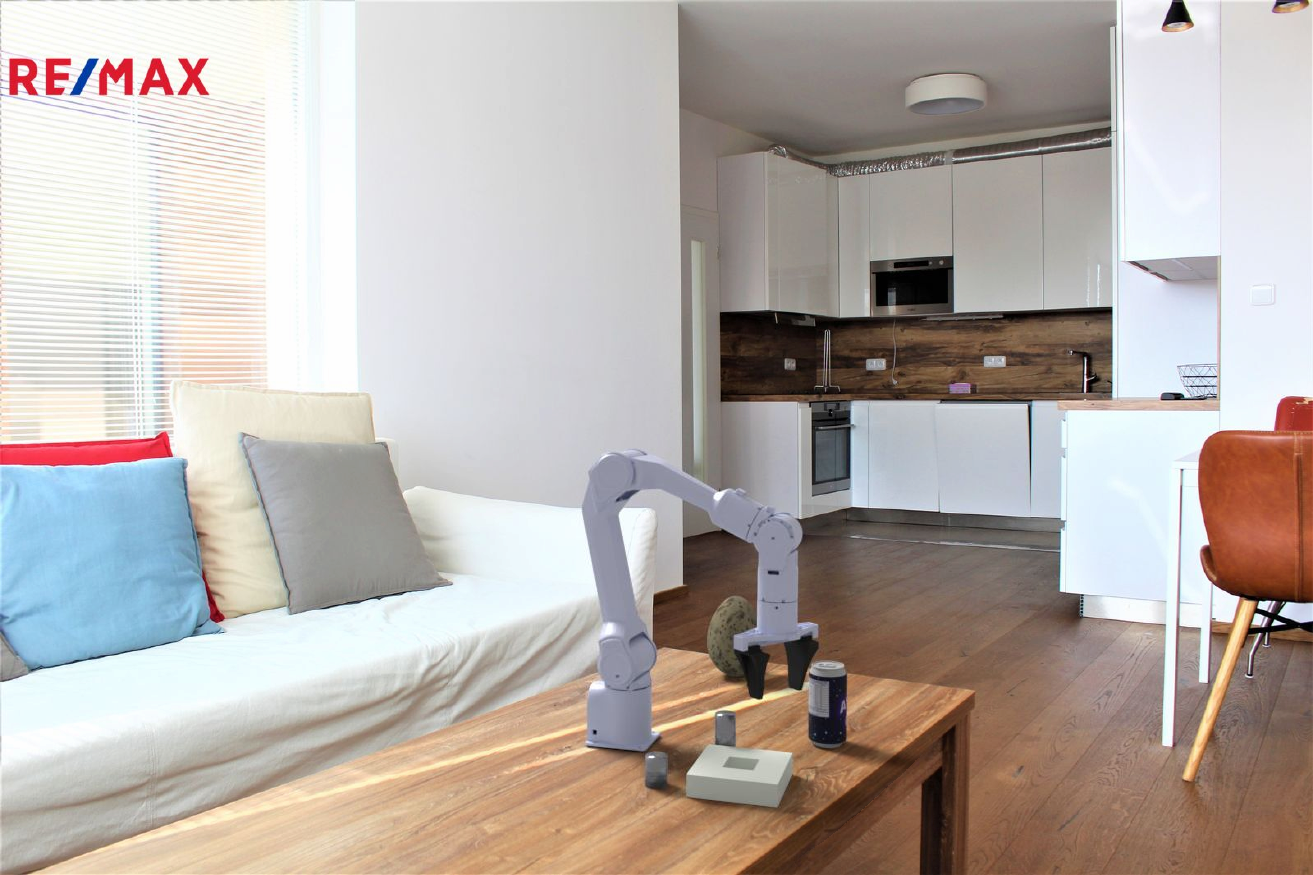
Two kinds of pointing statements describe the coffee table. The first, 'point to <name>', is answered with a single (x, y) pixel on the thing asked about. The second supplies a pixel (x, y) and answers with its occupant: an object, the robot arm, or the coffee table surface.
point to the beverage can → (827, 704)
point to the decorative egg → (729, 633)
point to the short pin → (656, 770)
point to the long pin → (725, 728)
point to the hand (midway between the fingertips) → (776, 693)
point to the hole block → (740, 775)
